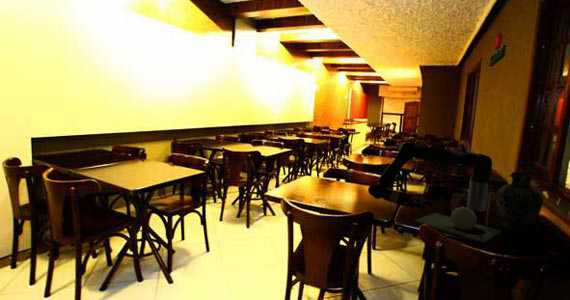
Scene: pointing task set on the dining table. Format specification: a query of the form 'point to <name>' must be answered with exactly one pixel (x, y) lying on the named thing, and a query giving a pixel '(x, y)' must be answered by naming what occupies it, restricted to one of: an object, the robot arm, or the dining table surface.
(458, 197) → the soda can
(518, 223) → the decorative vase
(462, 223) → the ball
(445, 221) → the putting board
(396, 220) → the dining table surface
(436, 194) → the dining table surface
